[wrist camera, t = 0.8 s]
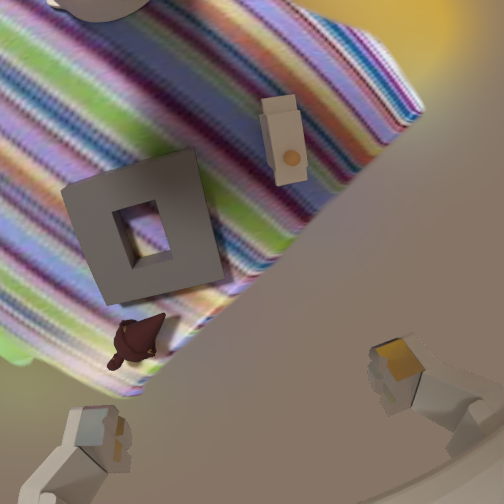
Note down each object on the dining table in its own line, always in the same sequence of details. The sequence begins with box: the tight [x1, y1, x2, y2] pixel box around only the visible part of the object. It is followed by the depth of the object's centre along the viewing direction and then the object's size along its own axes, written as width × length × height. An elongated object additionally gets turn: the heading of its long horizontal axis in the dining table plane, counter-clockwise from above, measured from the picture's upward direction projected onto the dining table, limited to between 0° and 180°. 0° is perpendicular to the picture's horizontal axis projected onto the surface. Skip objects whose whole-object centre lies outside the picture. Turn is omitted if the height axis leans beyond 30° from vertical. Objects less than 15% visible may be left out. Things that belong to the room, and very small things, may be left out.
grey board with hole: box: [61, 147, 225, 306], centre depth 42 cm, size 18×18×3 cm
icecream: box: [107, 313, 166, 371], centre depth 47 cm, size 7×7×15 cm
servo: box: [259, 94, 308, 186], centre depth 38 cm, size 11×4×6 cm, turn 10°
